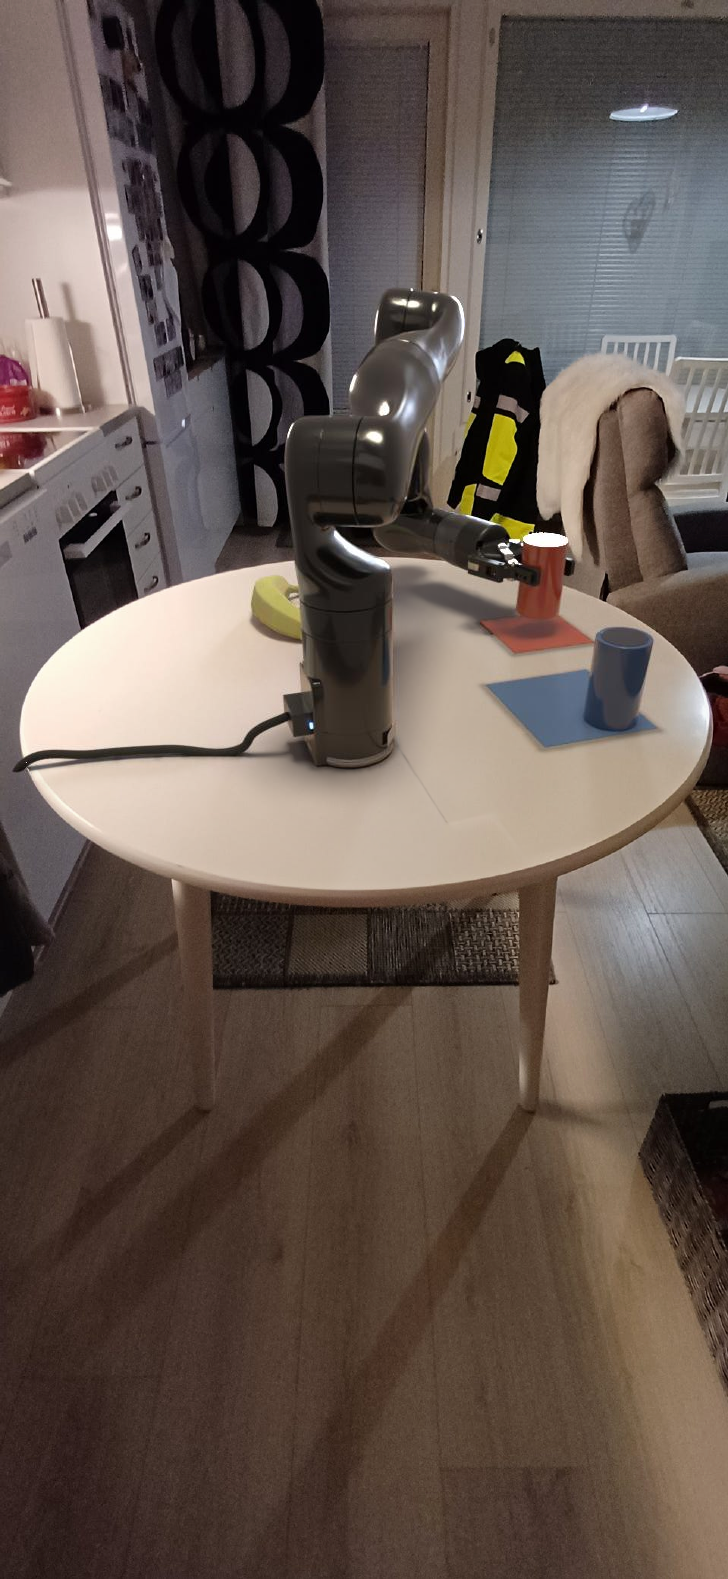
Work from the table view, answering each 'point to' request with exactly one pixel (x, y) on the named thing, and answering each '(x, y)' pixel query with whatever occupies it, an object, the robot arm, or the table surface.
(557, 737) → the blue mat
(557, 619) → the red mat
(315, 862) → the table surface
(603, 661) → the blue cup
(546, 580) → the red cup
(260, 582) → the banana
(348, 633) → the robot arm
